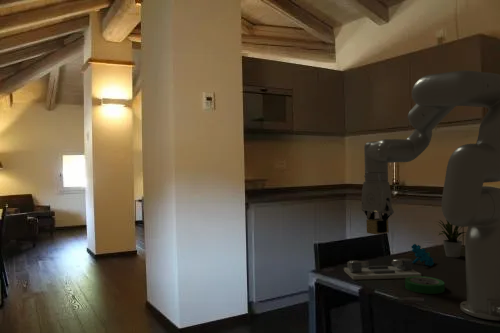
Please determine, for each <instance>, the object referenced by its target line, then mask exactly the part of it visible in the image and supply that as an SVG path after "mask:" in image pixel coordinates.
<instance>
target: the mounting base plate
mask: <svg viewBox="0 0 500 333" xmlns="http://www.w3.org/2000/svg"><path fill="white" fill-rule="evenodd" d="M343 271H344V273H346V274H347V275H348V276H349V277H350V278H351V279H352V280H354V281H356V280H381V279H382V280H383V279H387V280H389V279H406V278H407V277H412V276H422V273H421V272H418V271H416V270H415V269H413V268H412V270H409V271H404V270H401V269H398V268H397V267H393V266H392V265H391V266H390V265H389V266H388V265H369V268H362V273H352V272H351V271H350V270H349V269H348V267H343Z"/></svg>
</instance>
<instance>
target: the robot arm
mask: <svg viewBox="0 0 500 333" xmlns="http://www.w3.org/2000/svg"><path fill="white" fill-rule="evenodd" d="M411 99H412V100H413V102H414V103H415V105H414V106H413V107H412V108H411V109H410V110H409V112H408V114H407V119H408V122H409V124H410V125H411V126H412V128H414V130H413V131H412V133H411V134H410V135H409V136H408V137H407V138H405V139H403V138H402V139H401V138H400V139H399V138H397V139H396V138H395V139H394V138H393V139H387V138H386V139H381V140H380V139H379V140H378V141H368V142H366V143H365V144H364V175H363V176H364V181H363V183H362V189H361V211H362V212H364V214H365V216H366V220H367V219H376V213H378V218H379V219H380V221H378V230H379V233H382V234H385V233H384V232H387V220H388V221H389V218H390V217H391V215H393V214H395V211H394V209H393V205H392V204H393V203H392V202H393V200H392V192H391V185H390V181H389V164H390V163H391V164H393V163H409V162H412V161H414V160H416V159H417V158H418V157H419V156H420V155H421V154H422V153H423V152H424V151H425V150H426V149H427V148H428V147H429V145H430V143H431V141H432V138H433V137H432V136H433V130H434V129H435V128H436V127H437V126H438V125H439V123H441V121H443V120H444V119H445V118H446V116H447V115H448V114H450V113H451V112H452V111H453V110H454V109H455V108H456V107H457V106H458V107H476V108H486V109H487V110H488V111H487V112H486V113H485V115H484V116H483V118H482V120H481V122H480V125H479V128H478V136H477V139H476V143H466V144H462V145H460V146H458V147H457V148H455V150H454V151H453V152H452V153H451V154H450V156H449V159H448V162H447V166H446V170H445V176H444V183H443V189H442V195H441V210H442V211H441V212H442V214H443V217H444V218H445V220H447V221H448V222H449V223H450V224H452V225H453V226H454V227H455V226H459V227H460V228H461V227H462V228H465V227H466V228H467V230H466V232H467V233H465V240H464V242H465V244H464V246H465V247H464V248H465V249H464V251H465V252H464V255H465V281H466V282H465V283H466V284H465V285H466V287H465V288H466V300H463V301H462V302H461V303H459V307H460V310H461V311H462V312H463V313H464V314H467V315H469V316H470V317H475V318H478V319H483V320H489V321H499V322H500V188H498V187H496V186H495V187H494V186H487V185H486V186H484V183H497V182H500V73H493V72H485V71H484V72H483V71H482V72H481V71H477V70H456V71H448V72H440V73H432V74H427V75H424V76H421V77H420V78H419V79H418V80H416V82H415V83H414V85H413V87H412V90H411ZM447 221H446V222H447Z"/></svg>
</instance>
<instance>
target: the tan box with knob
mask: <svg viewBox="0 0 500 333" xmlns="http://www.w3.org/2000/svg"><path fill="white" fill-rule="evenodd" d="M378 221H380V219H379V217H378V218H376V217H375V219H367V218H366V233H367V234H372V235H382V234H387V233H388V234H389V230H390V229H389V219H388V220H387V232H384V233H379V230H378Z"/></svg>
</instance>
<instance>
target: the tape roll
mask: <svg viewBox="0 0 500 333" xmlns="http://www.w3.org/2000/svg"><path fill="white" fill-rule="evenodd" d="M404 287H405V289H406V290H409V291H410V292H414V293H417V294H427V295H430V294H431V295H432V294H436V295H437V294H442V293H444V292H445V291H446V290H445V282H444V281H443V280H441V279H440V278H439V279H438V278H437V277H436V278H435V277H431V276H422V275H421V276H412V277H407V278H404Z"/></svg>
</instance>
